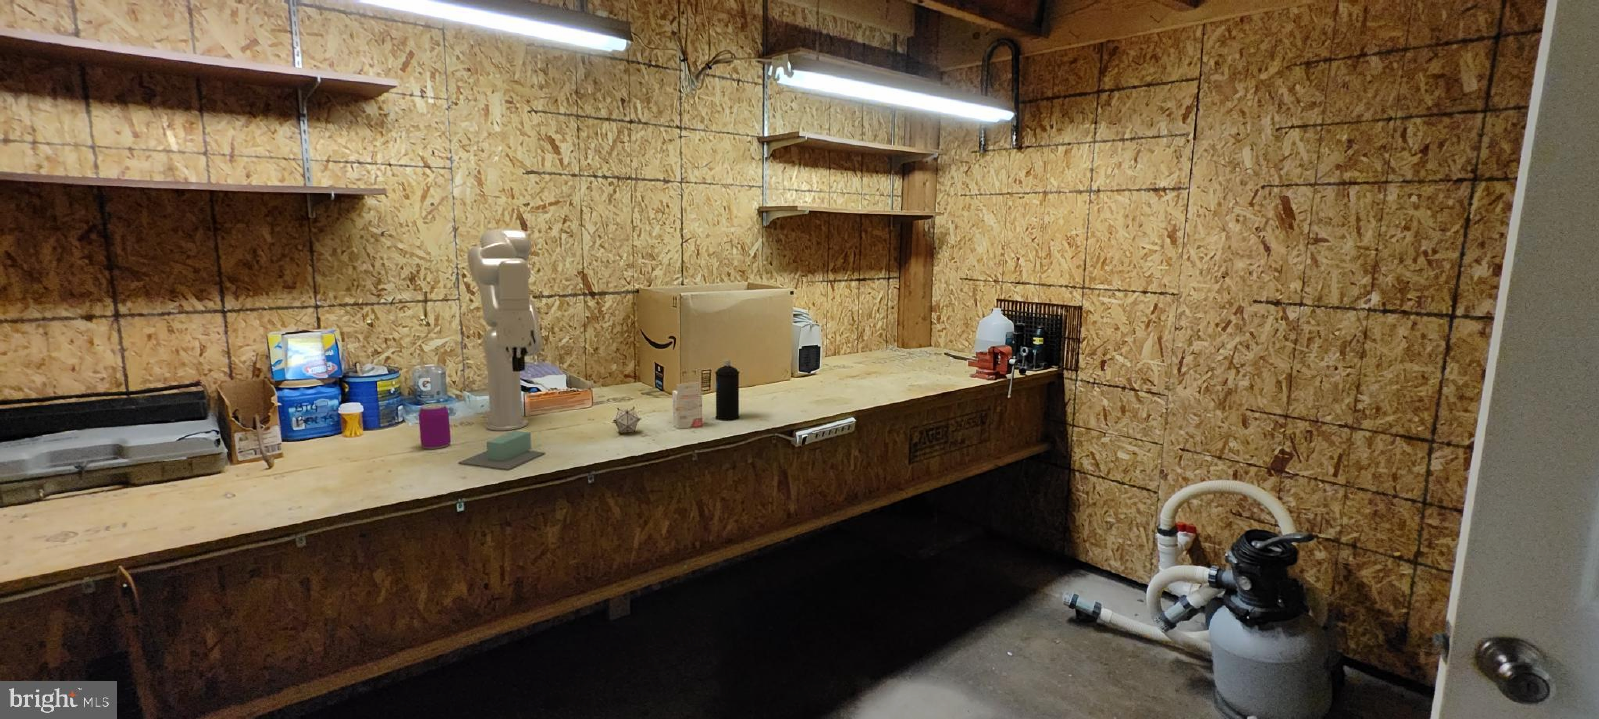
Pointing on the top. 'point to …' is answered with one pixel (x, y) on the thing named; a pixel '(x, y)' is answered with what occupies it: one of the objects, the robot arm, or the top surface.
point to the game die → (626, 420)
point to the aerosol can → (727, 392)
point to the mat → (508, 464)
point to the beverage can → (434, 426)
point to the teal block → (509, 445)
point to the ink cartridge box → (687, 406)
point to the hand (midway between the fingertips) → (518, 370)
